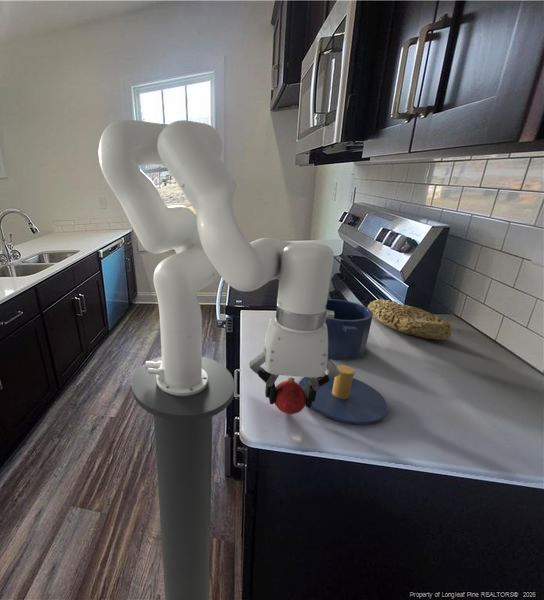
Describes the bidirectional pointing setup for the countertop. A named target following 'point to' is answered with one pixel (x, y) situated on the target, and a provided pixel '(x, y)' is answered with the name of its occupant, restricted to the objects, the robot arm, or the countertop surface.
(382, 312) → the sponge
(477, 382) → the countertop surface
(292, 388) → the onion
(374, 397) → the lid
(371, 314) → the pot
